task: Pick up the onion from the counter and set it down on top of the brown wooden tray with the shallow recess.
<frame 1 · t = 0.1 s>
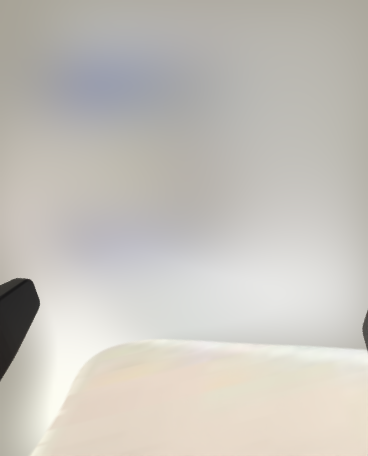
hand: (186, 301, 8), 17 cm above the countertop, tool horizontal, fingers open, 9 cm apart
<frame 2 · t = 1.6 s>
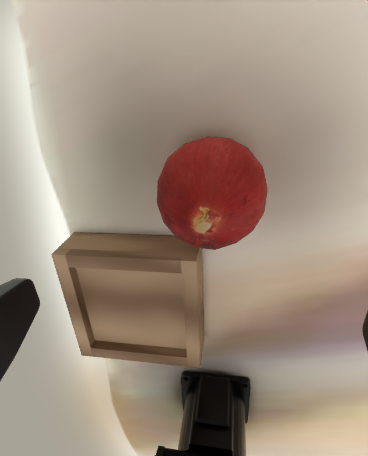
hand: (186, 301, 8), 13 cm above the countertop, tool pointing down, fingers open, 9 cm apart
brown wooden tray: (143, 287, 24), on the countertop
onion: (215, 172, 19), on the countertop
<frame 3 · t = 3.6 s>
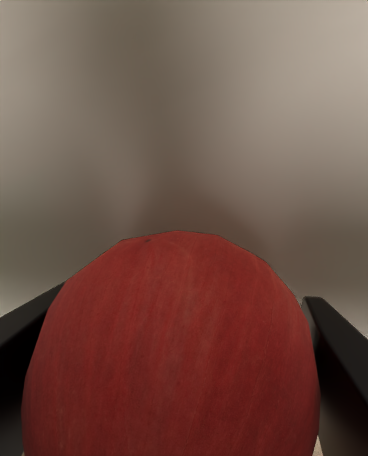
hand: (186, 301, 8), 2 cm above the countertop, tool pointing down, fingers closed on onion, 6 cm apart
onion: (196, 262, 10), on the countertop, touching gripper
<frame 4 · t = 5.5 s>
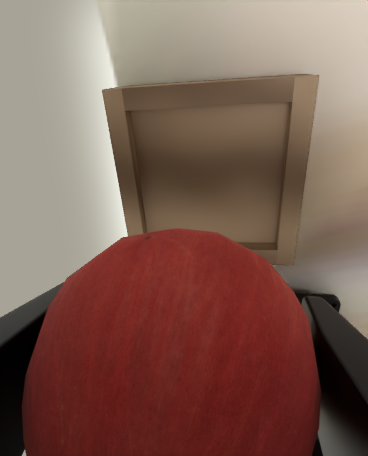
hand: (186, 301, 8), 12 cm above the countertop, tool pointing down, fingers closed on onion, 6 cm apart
brown wooden tray: (211, 168, 19), on the countertop
onion: (196, 260, 10), point 10 cm above the countertop, touching gripper
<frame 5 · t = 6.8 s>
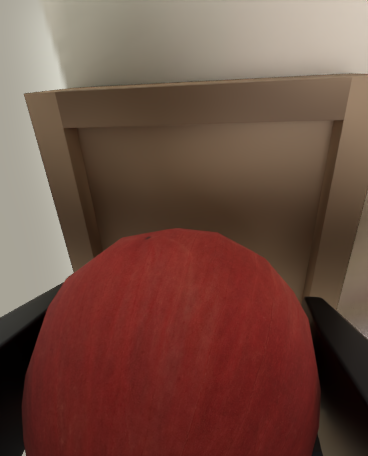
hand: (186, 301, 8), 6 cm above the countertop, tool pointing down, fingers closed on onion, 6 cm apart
brown wooden tray: (205, 207, 13), on the countertop
onion: (196, 260, 10), point 4 cm above the countertop, touching gripper
when the fingers open (6 cm above the countertop, at t = 7.5 s): onion drops 1 cm, resting on brown wooden tray.
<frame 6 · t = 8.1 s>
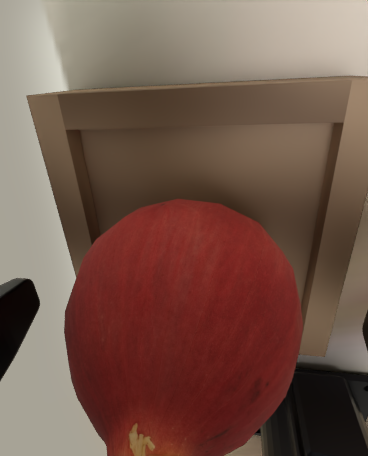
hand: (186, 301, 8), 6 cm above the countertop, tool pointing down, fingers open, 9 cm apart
brown wooden tray: (206, 208, 13), on the countertop
onion: (201, 239, 11), point 2 cm above the countertop, touching brown wooden tray
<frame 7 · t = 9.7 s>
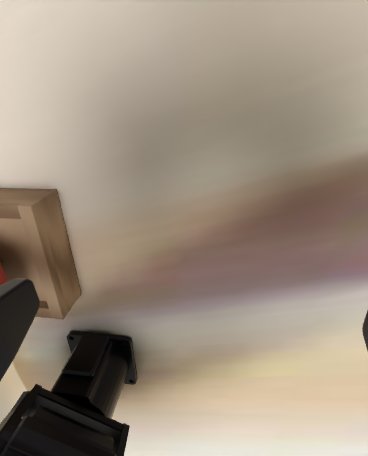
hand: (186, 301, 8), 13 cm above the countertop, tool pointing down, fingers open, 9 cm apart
brown wooden tray: (15, 243, 25), on the countertop
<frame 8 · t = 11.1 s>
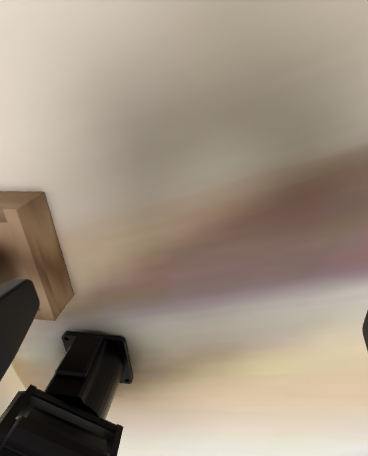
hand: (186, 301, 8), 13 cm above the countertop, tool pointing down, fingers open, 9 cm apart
brown wooden tray: (7, 246, 25), on the countertop
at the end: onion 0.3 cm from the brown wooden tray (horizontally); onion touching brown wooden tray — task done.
